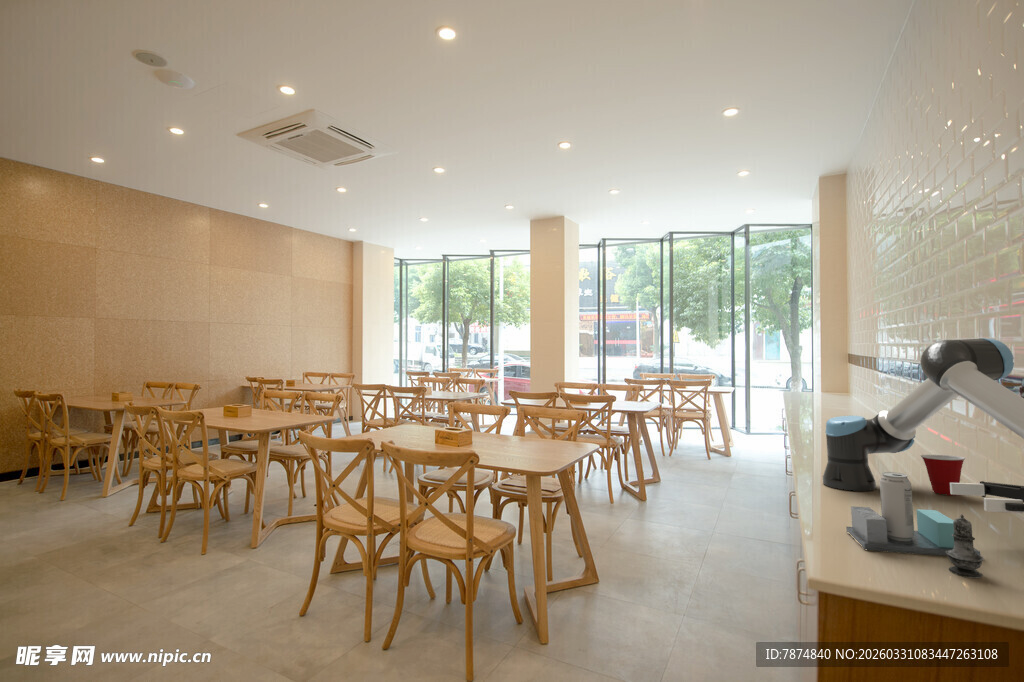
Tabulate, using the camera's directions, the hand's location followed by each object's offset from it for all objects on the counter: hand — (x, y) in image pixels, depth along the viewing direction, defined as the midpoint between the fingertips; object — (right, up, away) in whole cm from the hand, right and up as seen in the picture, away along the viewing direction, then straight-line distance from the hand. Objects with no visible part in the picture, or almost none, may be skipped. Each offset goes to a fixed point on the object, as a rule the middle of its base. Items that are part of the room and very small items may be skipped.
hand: (966, 496), depth 115 cm
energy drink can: (-13, -11, +4) cm, 18 cm away
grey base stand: (-11, -13, +3) cm, 17 cm away
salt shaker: (-12, -12, -12) cm, 21 cm away
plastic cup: (+33, -13, +43) cm, 55 cm away
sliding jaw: (-5, -11, +1) cm, 12 cm away
